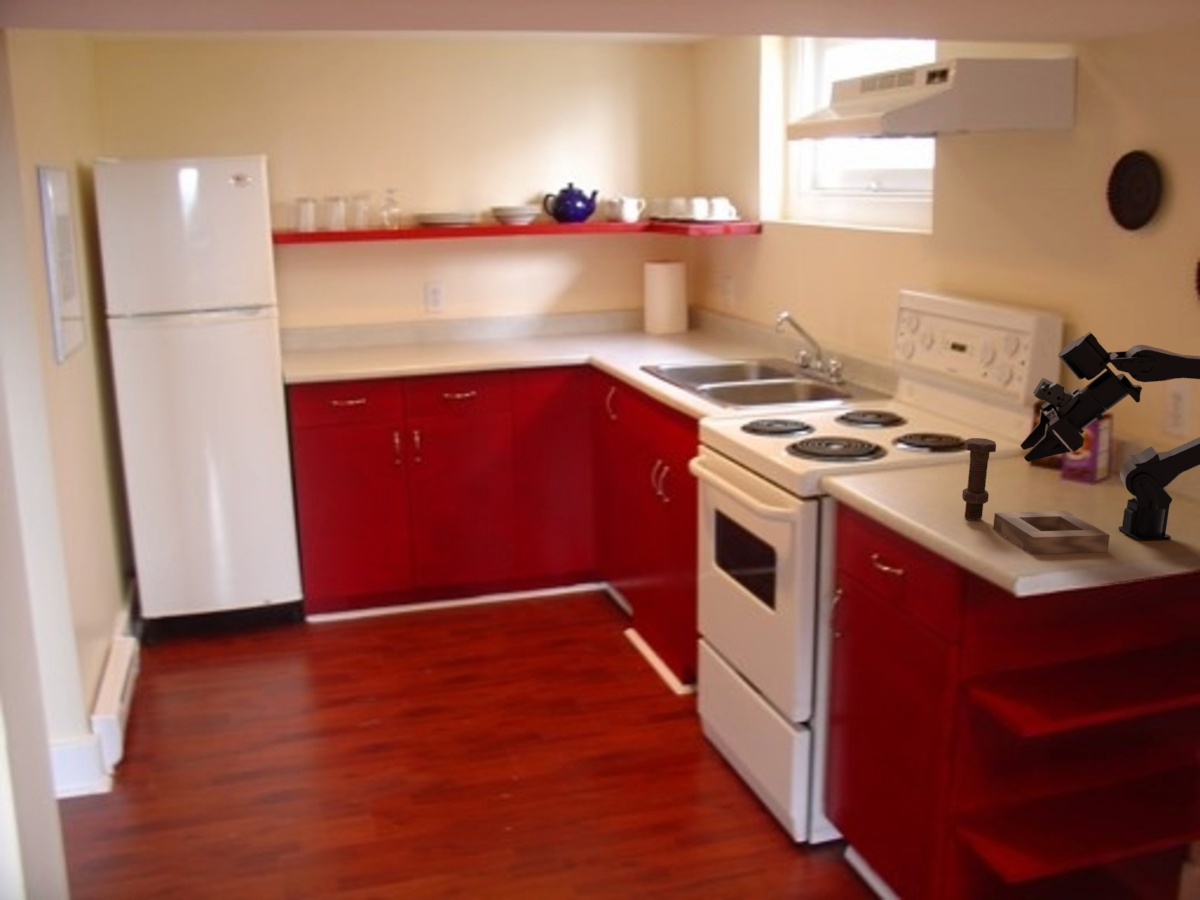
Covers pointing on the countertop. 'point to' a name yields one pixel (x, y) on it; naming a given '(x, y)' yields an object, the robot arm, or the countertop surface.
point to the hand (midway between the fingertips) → (1023, 453)
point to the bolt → (977, 476)
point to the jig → (1051, 532)
